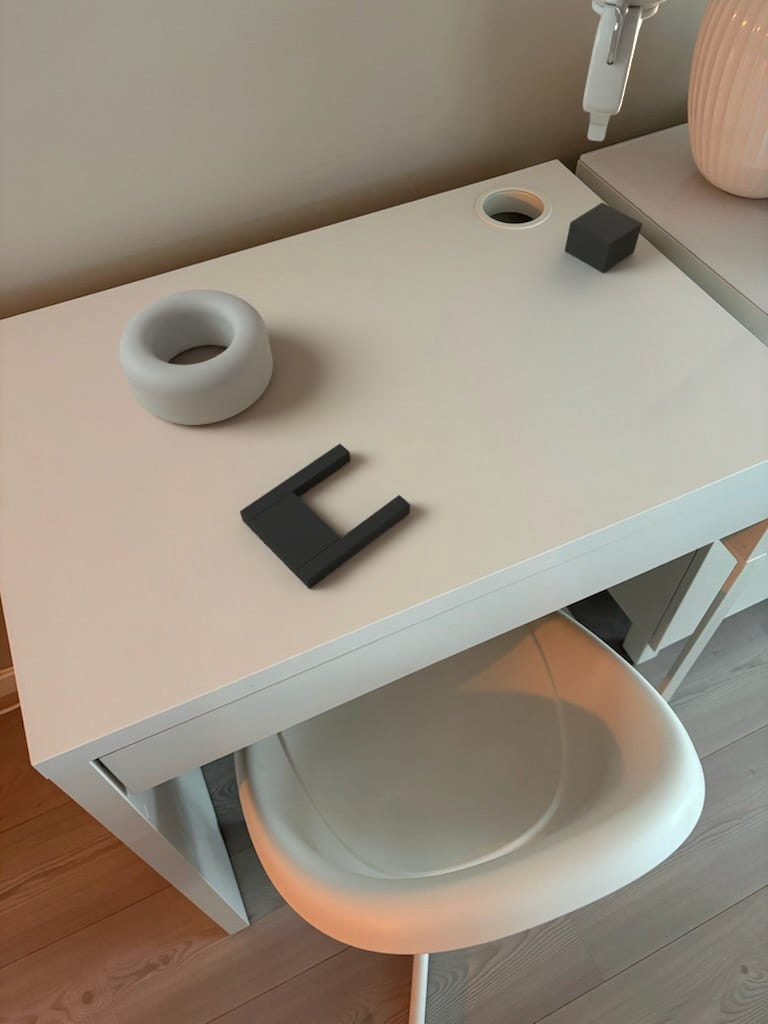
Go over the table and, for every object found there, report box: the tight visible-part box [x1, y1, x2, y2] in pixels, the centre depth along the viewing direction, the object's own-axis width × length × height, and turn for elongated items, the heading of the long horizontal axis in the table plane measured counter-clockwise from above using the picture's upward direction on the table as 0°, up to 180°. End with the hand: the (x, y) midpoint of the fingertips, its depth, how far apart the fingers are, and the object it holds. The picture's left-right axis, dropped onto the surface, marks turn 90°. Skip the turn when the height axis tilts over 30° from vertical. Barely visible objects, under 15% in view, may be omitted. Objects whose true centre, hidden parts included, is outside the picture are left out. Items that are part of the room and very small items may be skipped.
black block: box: [564, 202, 643, 274], centre depth 90 cm, size 6×6×4 cm
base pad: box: [239, 443, 411, 590], centre depth 69 cm, size 10×12×2 cm
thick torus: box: [118, 289, 274, 426], centre depth 78 cm, size 15×15×7 cm
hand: (601, 115), depth 82 cm, fingers open, 8 cm apart
